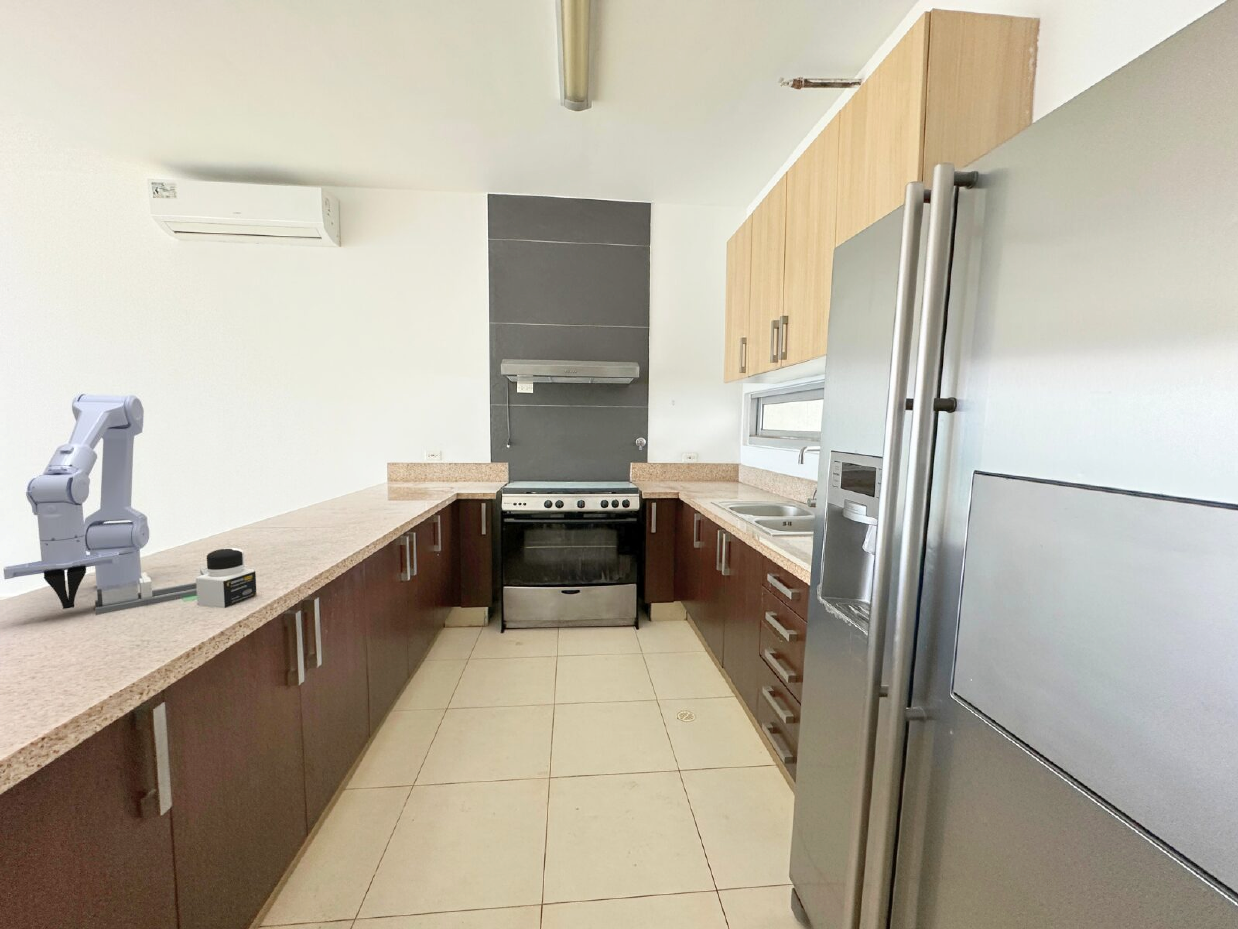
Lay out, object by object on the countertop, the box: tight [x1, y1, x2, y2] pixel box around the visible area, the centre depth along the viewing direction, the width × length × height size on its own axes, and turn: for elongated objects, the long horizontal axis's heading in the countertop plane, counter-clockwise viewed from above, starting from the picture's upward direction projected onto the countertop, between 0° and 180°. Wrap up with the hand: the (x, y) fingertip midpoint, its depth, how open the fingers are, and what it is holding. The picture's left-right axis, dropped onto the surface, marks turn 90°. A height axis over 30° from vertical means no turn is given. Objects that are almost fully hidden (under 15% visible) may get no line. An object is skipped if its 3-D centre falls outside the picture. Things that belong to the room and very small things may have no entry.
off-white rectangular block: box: [138, 571, 153, 600], centre depth 103 cm, size 9×2×5 cm, turn 47°
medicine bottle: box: [195, 547, 258, 609], centre depth 103 cm, size 7×7×12 cm
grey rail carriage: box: [96, 581, 139, 607], centre depth 100 cm, size 4×6×4 cm
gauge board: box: [94, 568, 208, 616], centre depth 104 cm, size 12×18×5 cm, turn 137°
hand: (68, 606), depth 95 cm, fingers closed
